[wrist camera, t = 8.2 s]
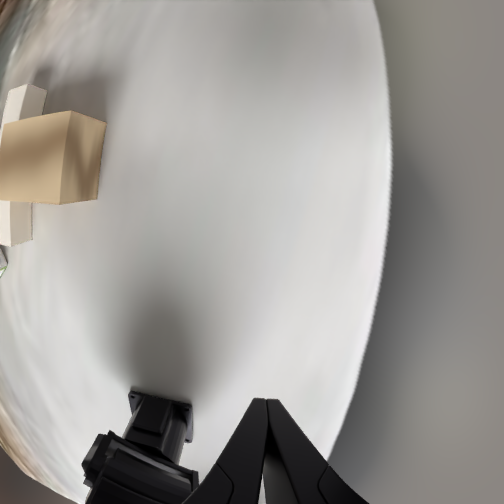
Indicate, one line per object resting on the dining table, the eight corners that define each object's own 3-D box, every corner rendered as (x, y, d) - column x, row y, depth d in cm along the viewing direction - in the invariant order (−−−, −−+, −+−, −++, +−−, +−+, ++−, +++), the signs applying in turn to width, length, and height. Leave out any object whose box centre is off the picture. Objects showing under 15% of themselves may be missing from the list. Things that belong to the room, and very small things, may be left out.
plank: (32, 239, 19) (11, 246, 16) (14, 236, 19) (-6, 242, 16) (47, 90, 16) (27, 83, 13) (28, 95, 16) (9, 90, 13)
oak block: (98, 199, 19) (59, 204, 14) (33, 194, 18) (-5, 200, 13) (107, 123, 17) (71, 110, 12) (40, 129, 17) (3, 124, 12)
